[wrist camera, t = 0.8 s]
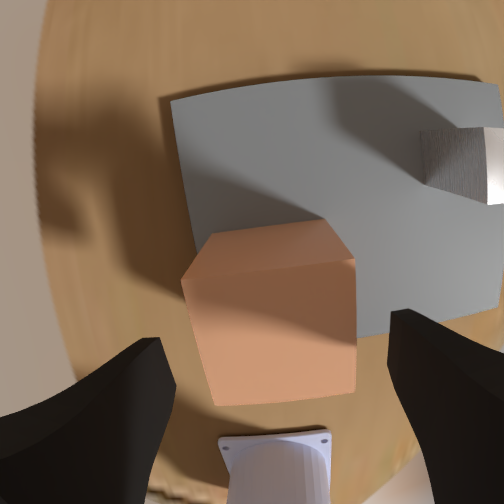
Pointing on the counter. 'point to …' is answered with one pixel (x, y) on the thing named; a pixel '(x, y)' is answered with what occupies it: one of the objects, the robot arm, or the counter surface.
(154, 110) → the counter surface
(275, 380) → the salmon pink block
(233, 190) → the board
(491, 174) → the post
